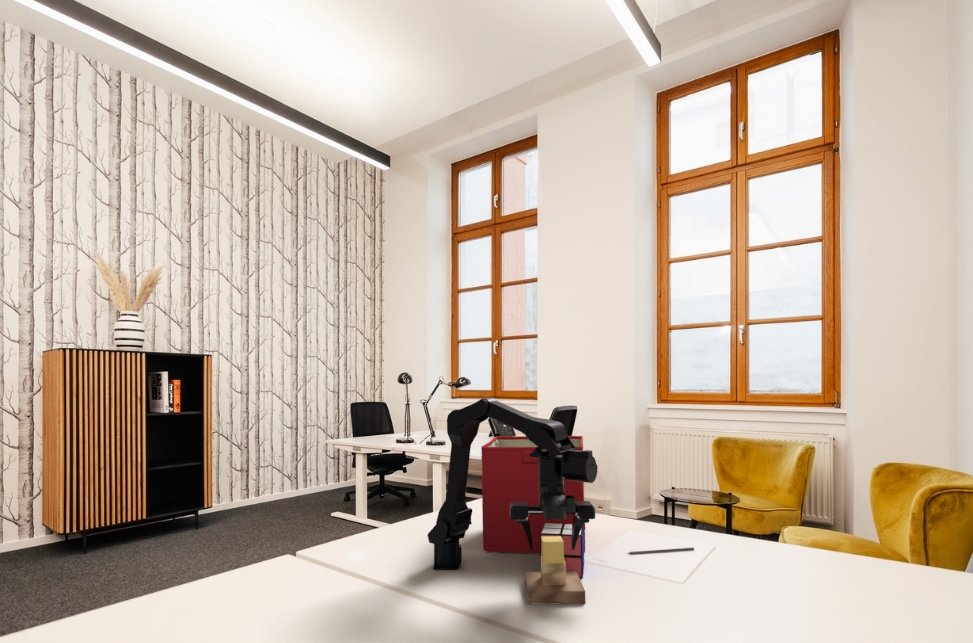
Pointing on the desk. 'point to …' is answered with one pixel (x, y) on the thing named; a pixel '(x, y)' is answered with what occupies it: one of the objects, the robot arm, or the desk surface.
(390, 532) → the desk surface
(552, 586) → the walnut base
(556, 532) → the puzzle cube
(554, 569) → the oak block
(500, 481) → the storage cube
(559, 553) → the mustard block
